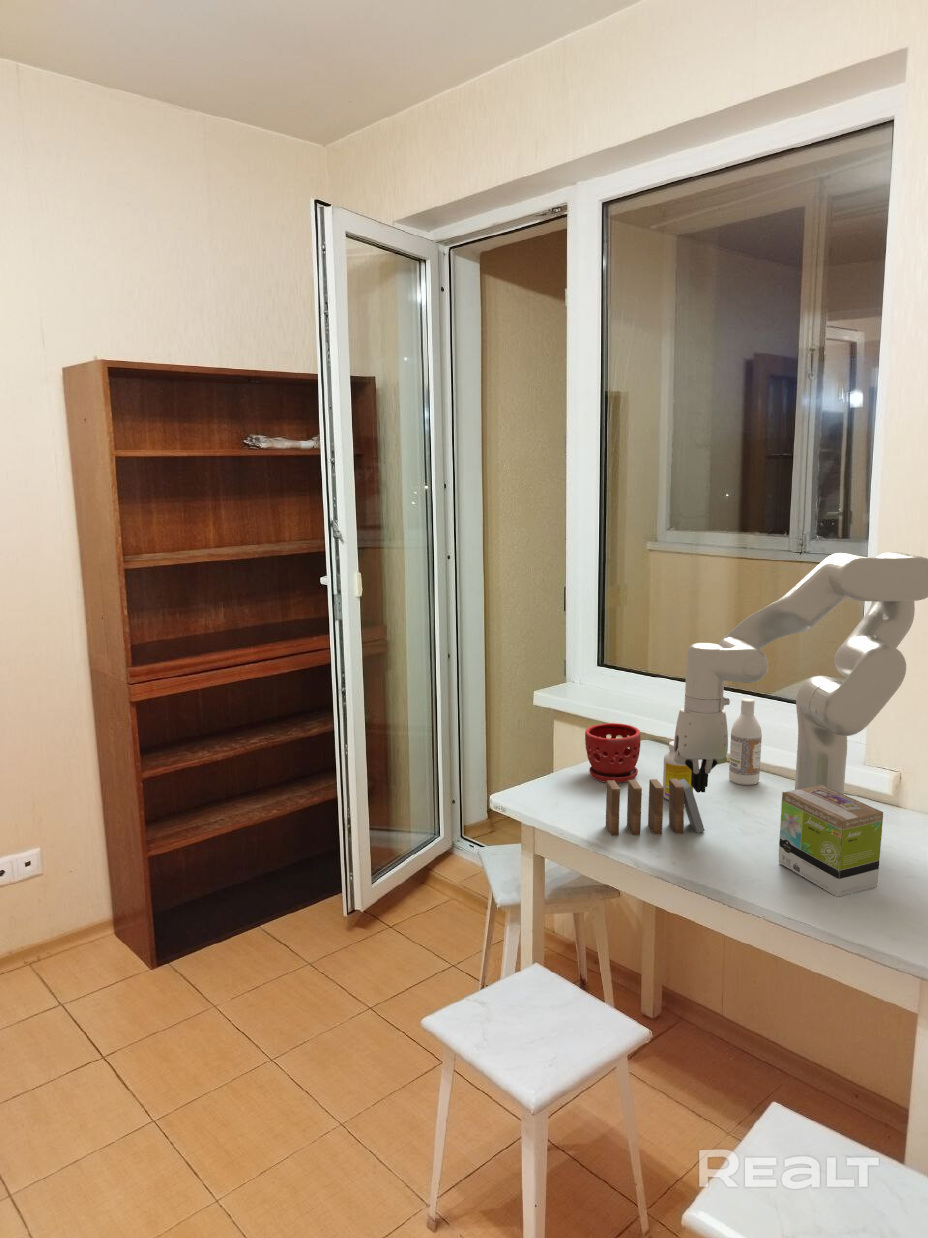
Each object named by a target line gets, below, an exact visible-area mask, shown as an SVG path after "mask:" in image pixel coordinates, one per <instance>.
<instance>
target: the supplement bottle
mask: <svg viewBox="0 0 928 1238" xmlns="http://www.w3.org/2000/svg"><path fill="white" fill-rule="evenodd" d="M668 742H669V743H668V750H669V751H667V753H665V755H664V757H663V773H662V774H663V776H662V777H663V779H662V786H663V787H664V795H663V799H666V800H667V801H669V779H678V781H679V780H682V779H685V780H686V781H687V783H688V784H689V785H690V786H691V773H692V770H691V769H690V768H689V767H688V766H687V765H682V764H678V763H676V762H675V761H674V758H675V754H676V752H675V751H674V740H671V741H668ZM691 787H692V786H691ZM692 791H693V792H694V788H693V787H692Z"/></svg>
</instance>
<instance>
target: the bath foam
mask: <svg viewBox="0 0 928 1238" xmlns="http://www.w3.org/2000/svg"><path fill="white" fill-rule="evenodd" d="M740 706H741V707H740V714H739V716H737V718H736V720H735V721H734V723H733V724H732V728H731V731H730V745H729V767H728V768H729V769H728V771H729V772H728V779H729V780H730V781H731V782H732V783H734V784H737V785H742V786H751V785H757V784H758V783H759V782H760V772H761V757H762V755H761V754H762V752H761V751H762V737H763V735H762V728H761V725H760V722H759V721H758V720H757V718H756V716H755V715H754V714H755V699H753V698H749V697H748V698H747V697H746V698H741V704H740Z"/></svg>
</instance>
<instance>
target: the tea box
mask: <svg viewBox="0 0 928 1238" xmlns="http://www.w3.org/2000/svg"><path fill="white" fill-rule="evenodd" d="M781 794H782V795H781V796H782V797H781V811H780V812H781V813H780V828H779V844H778V864H779V865H781V866H784V867H785V868H787V869H789V870H791V871H793V872H794V873H796V874H798V875H799V876H801V877H803V878H805V879H807V880H808V881H810V882H811V883H812V884H815V885H816V886H818V887H820V888H821V889H822V888H823V889H822V890H824V891H826V892H828V893H829V894H831V895H832V896H833V897H835V896H836V898H840V897H845V896H848V895H847V894H849V895H851V893H852V894H855V893H859V892H864V891H867V890H871V889H874V888H877V887H878V882H879V870H880V858H881V857H880V856H881V847H882V835H883V834H882V833H883V823H884V821H883V819H884V812H883V811H881V810H879V809H878V808H876V807H875V808H874V807H872V806H870V805H868V804H866V803H864V802H861V801H859V800H857V799H855V798H852V797H850V796H848V795H847V794H846V795H845V794H841V793H839V792H837V791H835V790H832V789H830V788H828V787H826V786H824V785H821V784H820V785H816V786H811V787H807V788H802V789H797V790H795V789H794V790H789V791H782V793H781ZM844 895H845V896H844Z"/></svg>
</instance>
